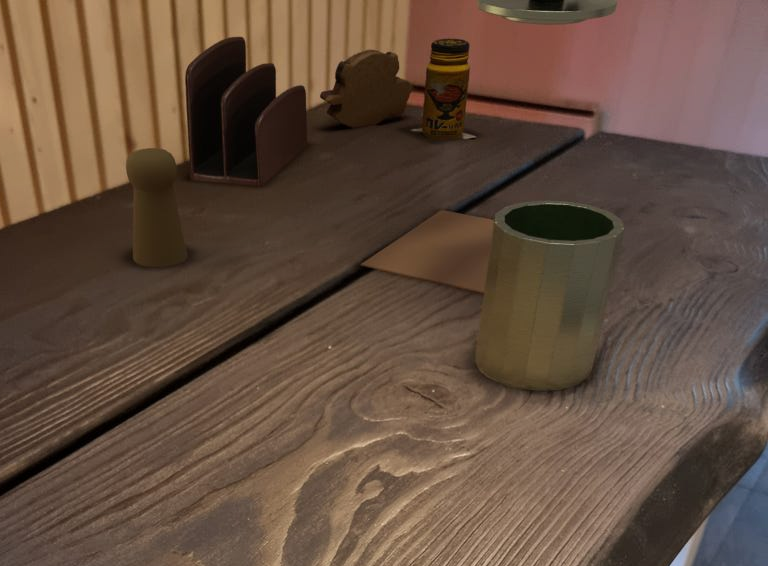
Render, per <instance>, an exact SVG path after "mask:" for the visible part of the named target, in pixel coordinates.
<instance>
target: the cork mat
mask: <svg viewBox="0 0 768 566" xmlns="http://www.w3.org/2000/svg"><path fill="white" fill-rule="evenodd" d="M493 224H494V219H491V218H487V217H481V216H476V215H472V214H471V215H470V214H466V213H465V214H464V213H460V212H454V211H450V210H449V211H448V210H443V209H441V210H439V211H437V212H436V213H435V214H433V215H431V216H430V217H429V218H427V219H426V220H425V221H423V222H422V223H420V224H419V225H417V226H416V227H414V228H413V229H411V230H409V231H408V232H406V233H405V234H403V235H402V236H401V237H398V239H396V240H395V241H393V242H392V243H390V244H389V245H387V246H386V247H384V248H383V249H381V250H380V251H378V252H377V253H375V254H374V255H372V256H371V257H370V258H368V259H366V260H365V261H363V262H361V264H360V266H361V267H363V268H364V267H365V268H369V269H372V270H378V271H382V272H387V273H390V274H396V275H399V276H403V277H409V278H413V279H417V280H418V279H419V280H423V281H426V282H431V283H435V284H440V285H445V286H449V287H453V288H458V289H461V290H466V291H470V292H471V291H472V292H476V293H480V294H484V290H485V283H486V275H487V268H488V261H489V253H490V246H491V239H492V232H493Z"/></svg>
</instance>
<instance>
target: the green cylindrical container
mask: <svg viewBox="0 0 768 566" xmlns="http://www.w3.org/2000/svg"><path fill="white" fill-rule="evenodd" d="M493 220H494V224H493V232H492V239H491V246H490V253H489V261H488V268H487V275H486V283H485V290H484V293H483V297H482V304H481V305H482V306H481V313H480V320H479V326H478V327H479V328H478V332H477V334H478V335H477V342H476V349H475V361H474V363H475V365H476V367H477V369H478V370H479V371H480V372H481V373H482V375H484V376H485V377H487V378H489V379H490V380H491V381H494V382H496V383H498V384H502V385H504V386H507V387H511V388H515V389H519V390H528V391H538V392H539V391H540V392H544V391H545V392H546V391H547V392H548V391H558V390H559V391H560V390H565V389H569V388H572V387H574V386H577V385H579V384H581V383H583V382H584V381H586V380H587V379H588V378H589V376H590V374H591V373H592V371H593V367H594V362H595V359H596V354H597V349H598V345H599V341H600V337H601V332H602V329H603V323H604V320H605V316H606V310H607V306H608V303H609V297H610V293H611V289H612V284H613V281H614V277H615V272H616V268H617V263H618V259H619V256H620V250H621V246H622V242H623V237H624V232H625V227H624V223H623V220H622V218H619V217H618V216H617V215H615V214H614V213H612V212H611V211H608V210H605V209H603V208H600V207H597V206H594V205H590V204H585V203H580V202H575V201H567V200H566V201H565V200H534V201H523V202H517V203H514V204H510V205H507V206H504V207H503V208H501V209H500V210H499V211H497V212H496V213H495V214H494V218H493Z"/></svg>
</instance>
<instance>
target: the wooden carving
mask: <svg viewBox="0 0 768 566" xmlns="http://www.w3.org/2000/svg"><path fill="white" fill-rule="evenodd" d="M399 70H400V62H399V56H398V54H397V53H395V52H391V51H387V52H386V53H384V52H382V51H380V50H376V49H365V50H362V51H360V52H356V53H355V54H352V55H351V56H349V57H348V58H347V59H345V60H343V61H342V60H341V61H339V63H338V64H337V67H336V69H335V73H334V80H335V82H334V84H333V88H332V89H330V90H323V91H321V92H320V94H319V98H320V99H321V100H323V101H324V102H327V103H328V104H329V106H328V108H327V110H326V114H327V115H329V116H330V117H331V118H332V119H334V120H336V121H337V122H338V123H340V124H341V125H344V126H346V127H347V128H351V129H355V128H360V127H365V126H371V125H373V126H376V125H378V124H380V123H381V122H382V121H384V119H386V118H387V117H388V116H394V117H398V116H401V115H403V114H405V110H406V107H407V103H408V101H409V99H410V96H411V93H412V92H413V89H414V85H413V83H412V82H410V81H409V80H407V79H405V78H401V77H400V76H397V75H398V73H399V72H400V71H399Z"/></svg>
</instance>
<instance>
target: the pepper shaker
mask: <svg viewBox="0 0 768 566" xmlns="http://www.w3.org/2000/svg"><path fill="white" fill-rule="evenodd" d="M125 163H126V164H125V170H126V171H125V172H126V176H127V180H128V182H129V183H130V185H131V186H132V187H133V205H132V206H133V207H132V208H133V209H132V210H133V215H132V216H133V218H132V220H133V221H132V223H133V224H132V228H133V229H132V232H133V233H132V258H133V262H135V263H136V264H137V265H140V266H143V267H149V268H164V267H171V266H175V265H178V264H182V263H183V262H184V261H186V260H187V258H188V252H187V247H186V241H185V237H184V233H183V227H182V223H181V218H180V214H179V207H178V204H177V198H176V194H175V190H174V184H175V182H176V179H177V175H178V165H177V162H176V159H175V157H174V156H173V154H172V152H169V151H168V150H166V149H163V148H157V147H148V148H141V149H137V150H135V151H132V152H131V153H130V154H129V155H128V158H127V159H126V162H125Z"/></svg>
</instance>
